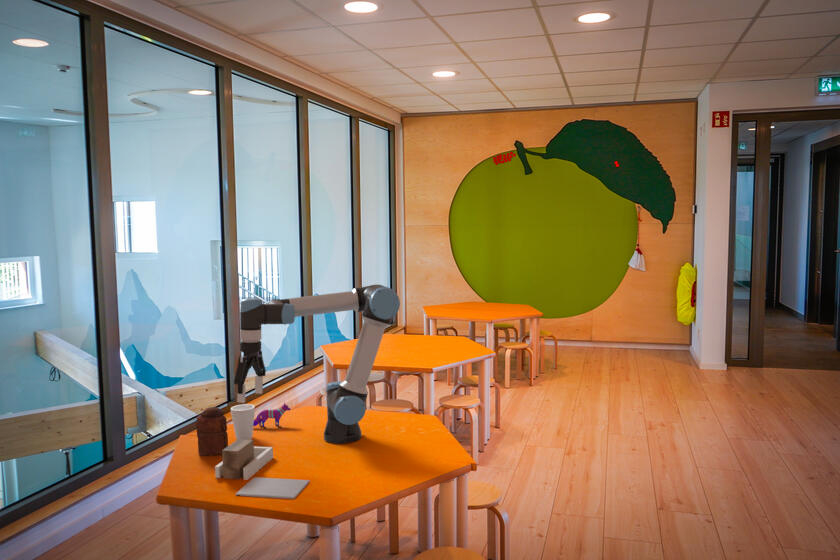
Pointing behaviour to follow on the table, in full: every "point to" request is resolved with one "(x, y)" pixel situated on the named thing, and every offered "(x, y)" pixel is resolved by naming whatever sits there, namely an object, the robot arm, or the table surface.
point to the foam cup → (243, 420)
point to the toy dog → (270, 415)
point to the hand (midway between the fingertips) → (250, 397)
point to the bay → (261, 458)
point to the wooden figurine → (212, 432)
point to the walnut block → (237, 458)
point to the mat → (273, 488)
